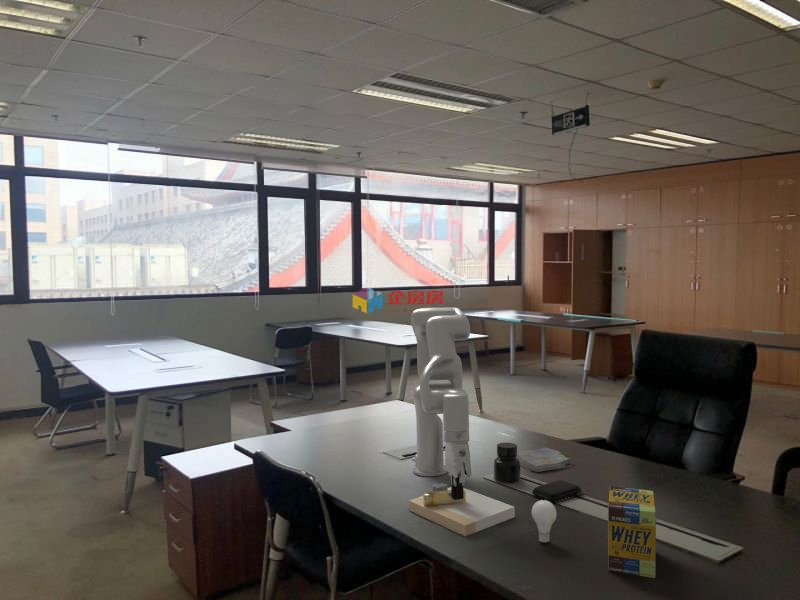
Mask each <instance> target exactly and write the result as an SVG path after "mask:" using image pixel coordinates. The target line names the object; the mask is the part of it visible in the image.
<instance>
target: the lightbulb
mask: <svg viewBox="0 0 800 600" xmlns="http://www.w3.org/2000/svg"><path fill="white" fill-rule="evenodd" d="M557 514H558V513H557V508H556V506H555V505H554V504H553V502H549V501H546V500H543V499H540V500H537V501H536V502H535V503H534V504H533V505H532V508H531V517H532V519H533V521H534V522H535V524H536V527H537V531H538V541H539V542H541V543H543V544H546V543H548V542H550V532H551V529H552V526H553V524H554V522H555V520H556V518H557Z"/></svg>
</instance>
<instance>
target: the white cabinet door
mask: <svg viewBox="0 0 800 600" xmlns="http://www.w3.org/2000/svg"><path fill="white" fill-rule="evenodd" d="M463 489H464V490H465V491H466V502H459V503H449V504H440V505H433V506H425V505H424V504H423V495H421V496H418V497H414V498H412V499H408V500H407V501H408V511H410V512H412V513H413V512H414V514H416V515H418V516H420V517H422V518H425V519H427V520H429V521H431V522H434V523H436V524H438V525H439V526H442V527H444V528H446V529H448V530H451V531H453V532H455V533H457V534H460V535H461V536H464V537H467V536H470V535H473V534H475V533H477V532H480V531H482V530H485V529H488V528H490V527H492V526H493V527H494V526H495V525H498V524H500V523H503V522H505V521H506V522H507V521H508V520H510V519H513V518H515V517H516V516H515V515H516V514H515V506H514V505H512V504H507V503H506V502H505V503H504V502H503V501H499V500H497V499H494V498H493V497H489V496H486V495H483V494H481V493H479V492H475V491H473V490H471V489H467V488H465V487H463ZM448 490H451V486H450V487H448V484H445V483H443V482H442V483H439V484H435V485H432V491H431V492H438V491H448Z"/></svg>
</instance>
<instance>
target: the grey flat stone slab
mask: <svg viewBox="0 0 800 600" xmlns="http://www.w3.org/2000/svg"><path fill="white" fill-rule="evenodd" d="M516 457H517V459H519V461H520V467H522V468H524V469H525V470H528V469H529V470H528V471H530V470H531V472H533V471H534V472H533V473H535V472H537V473H539V472H545V471H551V470H560V469H561V468H562V469H566V467H567V468H572V467H573V464H572V462H571V458H568V457H566V456H565V455H564V454H562V452H560V451H558V449H557V450H556V449H552V448H549V447H541V448H540V447H539V448H534V449H528V450H527V449H525V450H524V449H523V450H517V456H516Z"/></svg>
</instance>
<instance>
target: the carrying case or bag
mask: <svg viewBox="0 0 800 600" xmlns="http://www.w3.org/2000/svg"><path fill="white" fill-rule="evenodd" d="M531 494H533V496H534V497H535V498H536V497H537V498H538V497H539V499H540V500H543V499H544V500H546V501H549V502H551V503H556V502H555V501H558V502H560V501H559V500H561V501H563V500H562V499H564V500H566V499H565V498H567V499H569V498H568V497H570V498H573V497H578V496H580V494H582V489H581V488H580V486H579V485H577V484H574V483H570V482H569V481H566V480H563V479H562V480H561V479H559V480H556V481H551V482H548V483H545V484H541V485H538V486H536V487H534V488H533V489H532V490H531ZM575 495H576V496H575ZM572 496H573V497H572Z"/></svg>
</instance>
